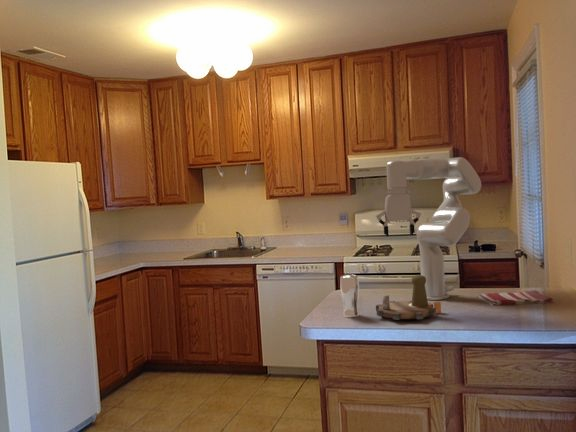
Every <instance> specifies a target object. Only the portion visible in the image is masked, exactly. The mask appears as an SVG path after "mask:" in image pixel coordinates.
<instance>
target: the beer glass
mask: <svg viewBox="0 0 576 432" xmlns="http://www.w3.org/2000/svg"><path fill="white" fill-rule="evenodd" d="M339 281H340V285H339V286H340V295H341V300H342V305H343V311H342V316H343V317H345V318H357V317H359V316H360V311H359V307H358V303H359V296H360V295H359V294H360V283H359V276H358V275H356V274H343V275H341V276H340V280H339Z"/></svg>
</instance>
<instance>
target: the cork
mask: <svg viewBox="0 0 576 432" xmlns="http://www.w3.org/2000/svg"><path fill="white" fill-rule="evenodd" d="M425 283H426V278H425V276H422V275H421V274H417V275H413V276H412V277H411V284H412V293H411V294H412V296H411V297H412V298H411V301H412V306H414V307H426V306H428V303H429V300H427V295H426V289H425Z"/></svg>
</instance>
